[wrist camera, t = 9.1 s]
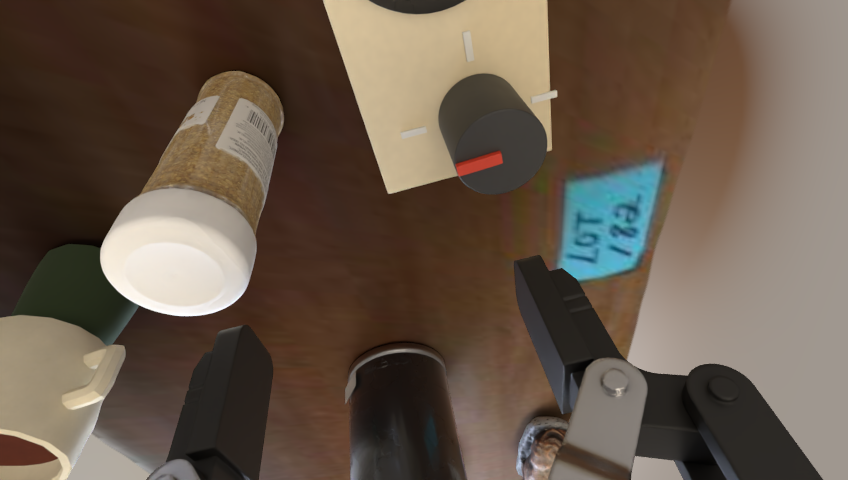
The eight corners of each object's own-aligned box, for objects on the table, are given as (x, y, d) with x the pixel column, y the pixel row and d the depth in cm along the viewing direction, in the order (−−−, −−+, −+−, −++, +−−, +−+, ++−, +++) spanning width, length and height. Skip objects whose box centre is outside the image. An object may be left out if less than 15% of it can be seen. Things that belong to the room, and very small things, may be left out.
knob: (512, 61, 22) (546, 98, 18) (522, 137, 25) (553, 182, 21) (429, 88, 22) (445, 130, 19) (448, 160, 25) (466, 209, 22)
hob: (540, 137, 29) (558, 162, 26) (387, 179, 29) (392, 206, 27) (518, -306, 16) (548, -337, 14) (255, -226, 17) (240, -243, 14)
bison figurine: (518, 410, 51) (549, 504, 44) (576, 402, 52) (616, 493, 44) (507, 457, 59) (531, 544, 51) (557, 449, 60) (589, 534, 52)
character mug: (71, 326, 33) (-45, 518, 23) (-17, 261, 29) (-208, 467, 19) (202, 282, 32) (141, 462, 22) (134, 208, 28) (18, 394, 18)
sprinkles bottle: (188, 69, 23) (65, 226, 13) (278, 67, 24) (229, 215, 13) (213, 148, 26) (129, 328, 16) (292, 145, 26) (261, 315, 16)
